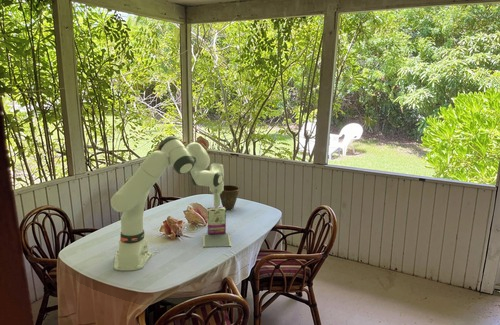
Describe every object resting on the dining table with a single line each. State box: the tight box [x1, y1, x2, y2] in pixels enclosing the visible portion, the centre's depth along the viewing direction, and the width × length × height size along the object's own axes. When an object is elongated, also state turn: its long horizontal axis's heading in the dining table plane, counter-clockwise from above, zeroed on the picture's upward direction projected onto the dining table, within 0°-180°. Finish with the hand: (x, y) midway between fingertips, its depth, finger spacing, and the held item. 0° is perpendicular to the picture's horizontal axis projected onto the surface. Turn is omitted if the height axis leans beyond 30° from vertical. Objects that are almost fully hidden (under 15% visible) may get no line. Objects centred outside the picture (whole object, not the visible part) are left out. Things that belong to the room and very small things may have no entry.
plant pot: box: [220, 184, 240, 211], centre depth 261 cm, size 15×15×16 cm
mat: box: [202, 233, 232, 248], centre depth 209 cm, size 16×16×1 cm
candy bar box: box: [206, 206, 227, 235], centre depth 218 cm, size 11×5×16 cm, turn 103°
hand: (216, 208), depth 225 cm, fingers closed
